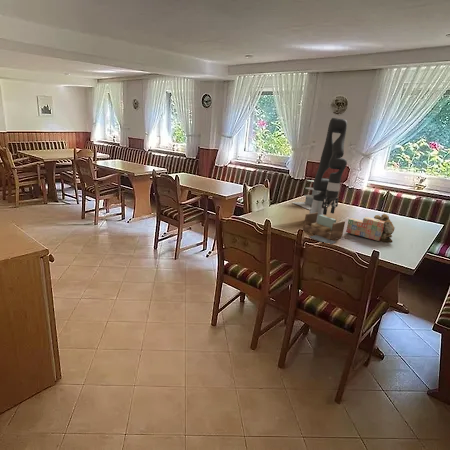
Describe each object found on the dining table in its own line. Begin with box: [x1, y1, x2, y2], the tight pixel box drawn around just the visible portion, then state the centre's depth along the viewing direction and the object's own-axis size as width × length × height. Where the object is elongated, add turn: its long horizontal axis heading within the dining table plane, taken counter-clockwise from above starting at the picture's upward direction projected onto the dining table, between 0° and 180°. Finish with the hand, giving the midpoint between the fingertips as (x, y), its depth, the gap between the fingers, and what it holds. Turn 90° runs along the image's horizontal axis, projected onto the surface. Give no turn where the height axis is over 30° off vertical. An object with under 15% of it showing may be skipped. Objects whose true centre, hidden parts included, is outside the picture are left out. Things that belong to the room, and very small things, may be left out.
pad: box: [308, 234, 337, 245], centre depth 205 cm, size 14×8×1 cm, turn 39°
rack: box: [302, 212, 346, 241], centre depth 216 cm, size 22×12×11 cm, turn 39°
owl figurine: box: [373, 213, 396, 244], centre depth 216 cm, size 18×12×17 cm, turn 33°
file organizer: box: [292, 179, 327, 211], centre depth 294 cm, size 26×35×22 cm
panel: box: [316, 214, 337, 231], centre depth 218 cm, size 12×2×10 cm, turn 39°
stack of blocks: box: [345, 216, 385, 242], centre depth 216 cm, size 21×6×12 cm, turn 52°
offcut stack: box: [311, 222, 331, 233], centre depth 216 cm, size 16×5×4 cm, turn 39°
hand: (328, 213), depth 215 cm, fingers open, 8 cm apart
